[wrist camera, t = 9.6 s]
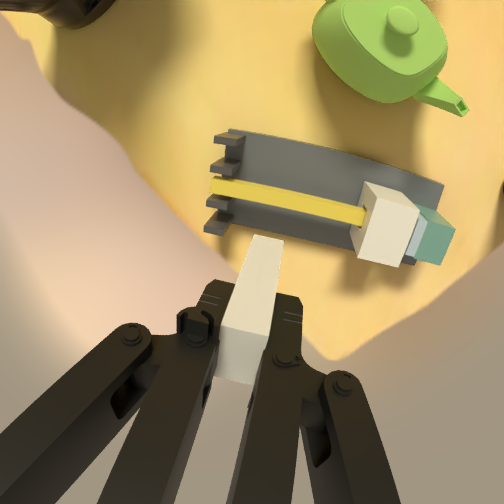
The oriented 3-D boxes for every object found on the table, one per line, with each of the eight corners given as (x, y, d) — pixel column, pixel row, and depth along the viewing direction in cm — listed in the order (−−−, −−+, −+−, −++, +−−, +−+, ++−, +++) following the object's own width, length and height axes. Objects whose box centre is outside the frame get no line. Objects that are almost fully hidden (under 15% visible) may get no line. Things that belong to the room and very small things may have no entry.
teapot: (457, 85, 25) (514, 83, 14) (388, 142, 31) (428, 160, 20) (348, -30, 21) (363, -79, 10) (273, 24, 27) (257, -15, 16)
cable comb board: (217, 217, 40) (199, 239, 33) (228, 128, 34) (211, 132, 27) (412, 262, 37) (428, 290, 31) (441, 183, 32) (466, 200, 25)
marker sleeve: (349, 232, 36) (357, 257, 30) (364, 181, 32) (377, 197, 26) (384, 241, 35) (398, 267, 29) (401, 192, 32) (420, 210, 26)
